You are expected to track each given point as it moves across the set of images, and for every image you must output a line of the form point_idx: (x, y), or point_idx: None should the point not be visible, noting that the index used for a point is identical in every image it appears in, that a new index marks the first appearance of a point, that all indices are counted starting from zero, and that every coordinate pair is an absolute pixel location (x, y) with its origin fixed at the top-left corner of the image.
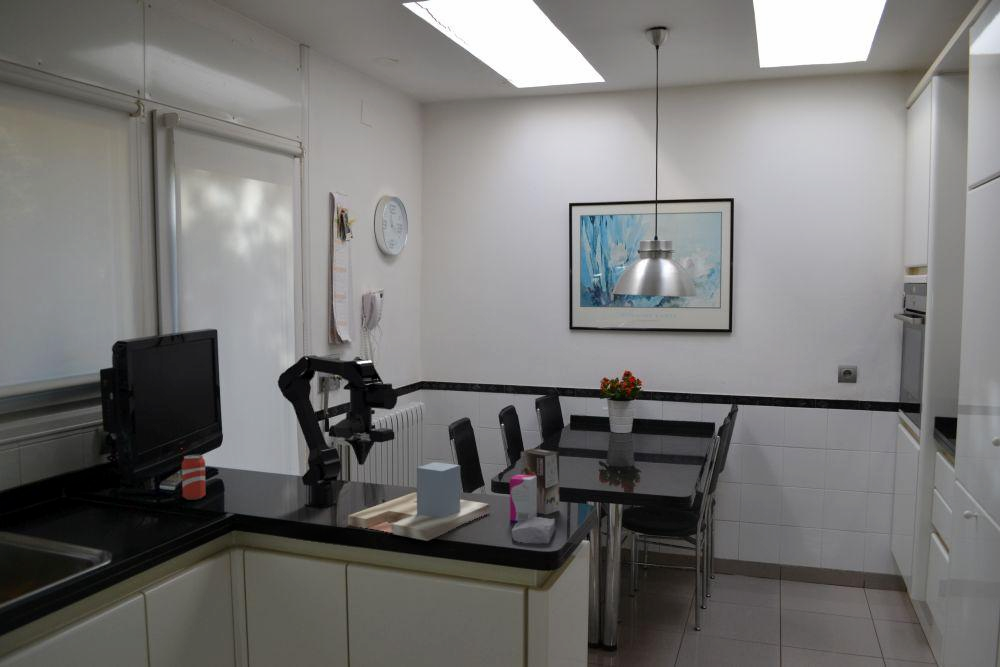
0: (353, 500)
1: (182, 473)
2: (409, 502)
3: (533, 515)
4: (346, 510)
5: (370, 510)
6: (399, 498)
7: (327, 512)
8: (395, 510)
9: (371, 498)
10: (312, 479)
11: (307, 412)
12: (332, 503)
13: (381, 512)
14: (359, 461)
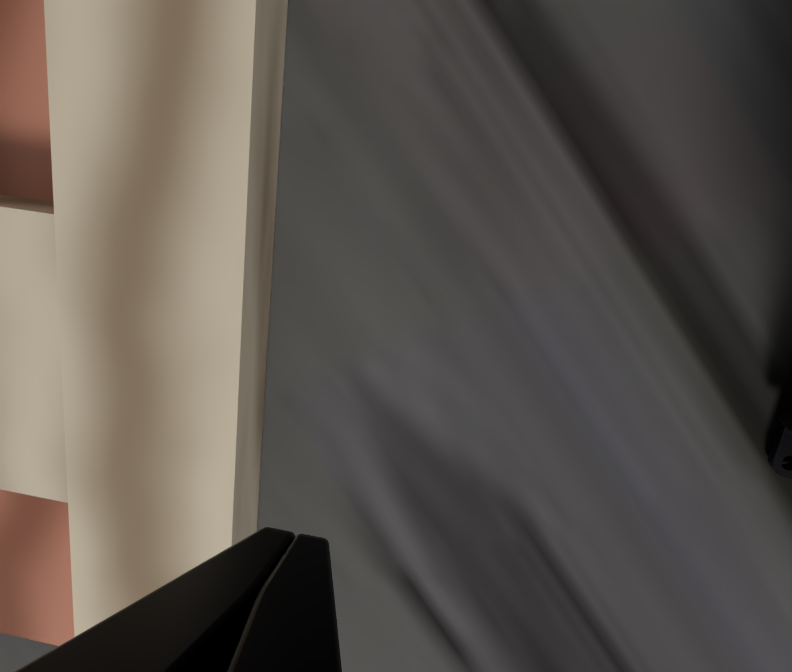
0: (677, 587)
1: None
2: (77, 485)
3: None
4: (572, 319)
5: (189, 150)
6: None
7: (706, 199)
8: (16, 241)
9: (567, 666)
10: None
11: None
12: (781, 405)
13: (68, 134)
14: (275, 562)
